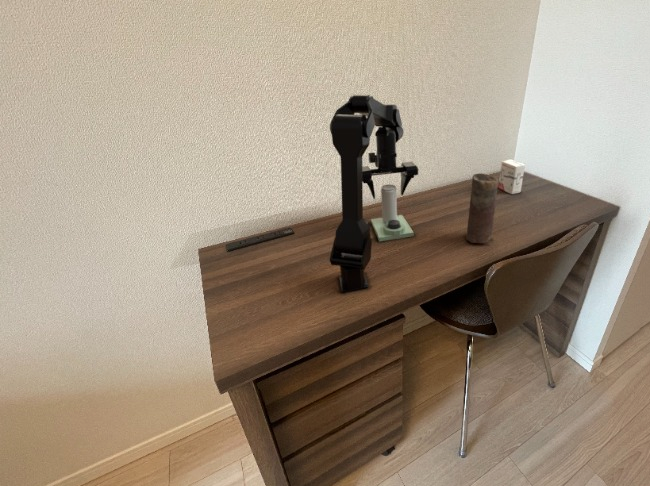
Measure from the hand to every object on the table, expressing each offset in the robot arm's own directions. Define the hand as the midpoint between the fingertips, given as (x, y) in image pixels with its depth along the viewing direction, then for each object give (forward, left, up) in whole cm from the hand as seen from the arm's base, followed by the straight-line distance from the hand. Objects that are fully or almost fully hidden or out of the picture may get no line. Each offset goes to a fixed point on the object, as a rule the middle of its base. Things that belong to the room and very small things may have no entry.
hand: (388, 196), depth 103 cm
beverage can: (0, 0, -9) cm, 9 cm away
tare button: (-7, 0, -7) cm, 10 cm away
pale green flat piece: (-4, 0, -10) cm, 11 cm away
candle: (-18, -24, -10) cm, 31 cm away
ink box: (+14, -55, -10) cm, 58 cm away
